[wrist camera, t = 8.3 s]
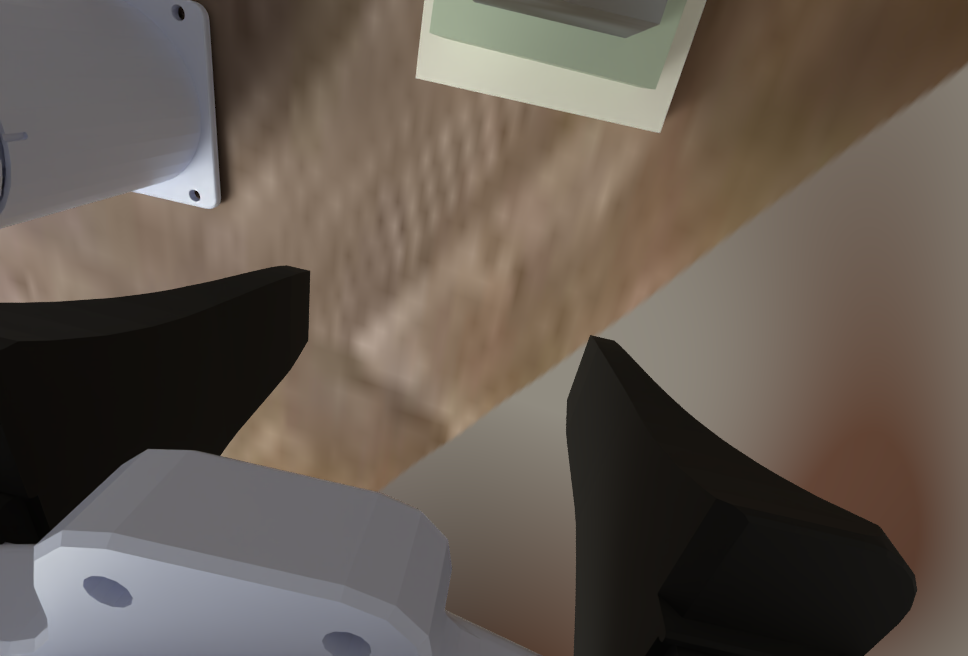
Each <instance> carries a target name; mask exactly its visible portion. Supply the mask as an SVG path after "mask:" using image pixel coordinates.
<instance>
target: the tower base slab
mask: <svg viewBox="0 0 968 656" xmlns="http://www.w3.org/2000/svg"><path fill="white" fill-rule="evenodd" d="M433 2H434V0H424V9H423V18H422V26H421V35H420V44H419V53H418V62H417V70H416V78H418V79H422V80H427V81H431V82H436V83H440V84H444V85H449V86H453V87H458V88H462V89H467V90H471V91H475V92H480V93H484V94H489V95H493V96H498V97H502V98H506V99H511V100H515V101H520V102H524V103H529V104H533V105H538V106H542V107H546V108H551V109H555V110H560V111H564V112H569V113H573V114H577V115H582V116H586V117H591V118H595V119H600V120H604V121H608V122H613V123H617V124H622V125H626V126H631V127H635V128H639V129H644V130H648V131H653V132H657V133H660V132H661V129H662V126H663V123H664V120H665V117H666V115H667V112H668V109H669V106H670V103H671V100H672V97H673V95H674V92H675V89H676V86H677V83H678V80H679V77H680V75H681V72H682V69H683V66H684V63H685V60H686V57H687V55H688V52H689V49H690V46H691V43H692V40H693V38H694V35H695V32H696V29H697V26H698V23H699V20H700V18H701V15H702V12H703V9H704V6H705V3H706V0H687V2H686V5H685V7H684V10H683V13H682V16H681V19H680V22H679V24H678V27H677V30H676V33H675V36H674V39H673V41H672V44H671V47H670V50H669V53H668V56H667V58H666V61H665V64H664V67H663V70H662V73H661V75H660V78H659V81H658V84H657V87H656V90H655V89H647V88H640V87H636V86H632V85H628V84H624V83H620V82H616V81H612V80H608V79H604V78H600V77H596V76H592V75H588V74H584V73H580V72H576V71H572V70H568V69H564V68H560V67H556V66H552V65H548V64H544V63H540V62H536V61H532V60H528V59H524V58H520V57H516V56H512V55H508V54H504V53H501V52H497V51H493V50H489V49H485V48H481V47H477V46H473V45H469V44H465V43H461V42H457V41H453V40H449V39H445V38H442V37H439V36H437V35H434V34H431V33H429V31H430V24H431V17H432V9H433Z"/></svg>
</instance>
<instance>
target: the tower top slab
mask: <svg viewBox="0 0 968 656" xmlns="http://www.w3.org/2000/svg"><path fill="white" fill-rule="evenodd" d="M686 2H687V0H668V1H667V4H666V7H665V10H664V13H663V16H662V19H661V22H660V24H659V25H657V26H654V27H652V28H649V29H647V30H645V31H642V32H640V33H637V34H635V35H632V36H630V37H628V38H622V37H618V36H613V35H609V34H605V33H601V32H597V31H593V30H588V29H584V28H580V27H576V26H572V25H567V24H563V23H559V22H555V21H551V20H547V19H542V18H538V17H534V16H530V15H526V14H521V13H517V12H513V11H509V10H505V9H501V8H496V7H492V6H488V5H484V4H480V3H475V2H474V1H473V0H434V2H433V9H432V17H431V24H430V31H429V33H431V34H434V35H437V36H439V37H442V38H445V39H449V40H453V41H457V42H461V43H465V44H469V45H473V46H477V47H481V48H485V49H489V50H493V51H497V52H501V53H504V54H508V55H512V56H516V57H520V58H524V59H528V60H532V61H536V62H540V63H544V64H548V65H552V66H556V67H560V68H564V69H568V70H572V71H576V72H580V73H584V74H588V75H592V76H596V77H600V78H604V79H608V80H612V81H616V82H620V83H624V84H628V85H632V86H636V87H640V88H647V89H655V90H656V87H657V84H658V81H659V78H660V75H661V73H662V70H663V67H664V64H665V61H666V58H667V56H668V53H669V50H670V47H671V44H672V41H673V39H674V36H675V33H676V30H677V27H678V24H679V22H680V19H681V16H682V13H683V10H684V7H685V5H686Z"/></svg>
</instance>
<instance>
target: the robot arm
mask: <svg viewBox="0 0 968 656" xmlns="http://www.w3.org/2000/svg"><path fill="white" fill-rule="evenodd" d="M180 6H181V7H182V9H183V10H184V13H185V18H184V19H183V20H182V19H181V18H180V17H179V14H178V9H179V8H180ZM195 190H196V191H197V192H198V193H199V194H200V199H199V198H197V197H196V196H195V193H194V192H195ZM131 191H132V192H136V193H141V194H145V195H149V196H154V197H158V198H162V199H167V200H171V201H175V202H180V203H184V204H189V205H193V206H197V207H202V208H206V209H212V208H215V207H217V206H219V204H220V202H221V191H220V176H219V160H218V145H217V129H216V114H215V98H214V83H213V67H212V52H211V36H210V21H209V16H208V13H207V11H206V9H205V8H204V7H203V6H202V5H201V4H200V3H198V2H196V1H191V0H0V229H1V228H5V227H8V226H12V225H15V224H19V223H22V222H26V221H29V220H33V219H36V218H40V217H43V216H47V215H50V214H54V213H57V212H61V211H64V210H68V209H71V208H75V207H79V206H82V205H86V204H89V203H93V202H96V201H100V200H103V199H107V198H110V197H114V196H117V195H121V194H124V193H128V192H131ZM309 293H310V271H308V270H304V269H300V268H295V267H291V266H277V267H271V268H266V269H261V270H257V271H252V272H248V273H244V274H240V275H236V276H232V277H227V278H223V279H219V280H215V281H210V282H206V283H201V284H196V285H191V286H186V287H182V288H177V289H172V290H166V291H160V292H154V293H148V294H140V295H132V296H124V297H116V298H105V299H90V300H76V301H61V302H32V303H0V656H542V655H539V654H537V653H535V652H533V651H531V650H529V649H527V648H524V647H522V646H520V645H518V644H516V643H514V642H512V641H510V640H508V639H505V638H503V637H501V636H499V635H497V634H495V633H493V632H491V631H489V630H486V629H484V628H482V627H480V626H478V625H476V624H474V623H472V622H469V621H467V620H465V619H463V618H461V617H459V616H457V615H454V614H452V613H450V612H448V611H446V610H445V604H446V599H447V594H448V588H449V582H450V577H451V571H452V565H451V558H450V551H449V543H448V539H447V538H446V537H445V536H444V535H443V534H442V533H441V532H440V530H439V529H437V527H436V526H435V525H434V524H433V523H432V522H431V521H430V520H429V519H428V518H427V517H426V516H425V515H424V513H422V511H421V510H419V509H418V508H416V507H413V506H411V505H409V504H406V503H404V502H402V501H399V500H397V499H395V498H392V497H390V496H388V495H385V494H383V493H380V492H376V491H371V490H367V489H362V488H358V487H354V486H349V485H345V484H340V483H336V482H332V481H327V480H323V479H319V478H314V477H310V476H305V475H301V474H297V473H292V472H288V471H283V470H279V469H275V468H270V467H266V466H262V465H257V464H253V463H248V462H244V461H240V460H235V459H231V458H226V457H222V456H220V455H221V454H222V452H223V451H224V449H225V448H226V447H227V445H228V444H229V443H230V441H231V440H232V439H233V437H234V436H235V435H236V433H237V432H238V431H239V430H240V429H241V427H242V426H243V425H244V424H245V423H246V422H247V420H248V419H249V418H250V417H251V416H252V415H253V413H254V412H255V411H256V410H257V409H258V408H259V406H260V405H261V404H262V403H263V402H264V401H265V399H266V398H267V397H268V396H269V395H270V394H271V392H272V391H273V390H274V389H275V388H276V386H277V385H278V384H279V383H280V382H281V380H282V379H283V378H284V377H285V376H286V374H287V373H288V372H289V371H290V370H291V368H292V366H293V365H294V363H295V362H296V360H297V359H298V357H299V355H300V354H301V352H302V350H303V348H304V347H305V345H306V343H307V342H308V329H309ZM566 419H567V420H566V436H567V446H568V455H569V463H570V472H571V480H572V488H573V497H574V505H575V518H576V606H575V635H574V656H864V655H865V654H866V653H867V652H868V651H870V650H871V649H872V648H873V647H874V646H875V645H876V644H877V643H878V642H879V641H880V640H881V639H883V638H884V637H885V636H886V635H887V634H888V633H889V632H890V631H891V630H892V629H893V628H894V627H895V626H897V625H898V624H899V623H900V622H901V620H902V619H903V618H904V616H905V615H906V614H907V613H908V612H909V610H910V609H911V607H912V604H913V601H914V598H915V595H916V592H917V586H916V580H915V575H914V573H913V572H912V570H911V569H910V568H909V566H908V565H907V563H906V562H905V561H904V559H903V558H902V556H901V555H900V554H899V552H898V551H897V550H896V548H895V547H894V545H893V544H892V543H891V541H890V540H889V539H888V537H887V536H886V534H885V533H884V532H883V530H882V529H881V528H880V527H879V526H878V525H876V524H874V523H872V522H870V521H868V520H866V519H864V518H862V517H859V516H857V515H855V514H853V513H851V512H849V511H847V510H845V509H843V508H840V507H838V506H836V505H834V504H832V503H830V502H828V501H826V500H823V499H821V498H819V497H817V496H815V495H813V494H812V493H810V492H808V491H806V490H804V489H802V488H800V487H799V486H797V485H795V484H793V483H791V482H790V481H788V480H786V479H784V478H782V477H780V476H779V475H777V474H775V473H774V472H772V471H770V470H768V469H767V468H765V467H763V466H762V465H760V464H759V463H757V462H755V461H754V460H752V459H751V458H749V457H748V456H746V455H745V454H743V453H742V452H740V451H738V450H737V449H735V448H734V447H732V446H731V445H729V444H728V443H727V442H725V441H724V440H722V439H721V438H719V437H718V436H717V435H715V434H714V433H713V432H712V431H710V430H709V429H708V428H706V427H705V426H704V425H703V424H701V423H700V422H699V421H697V420H696V419H695V418H694V417H693V416H691V415H690V414H689V413H688V412H687V411H685V410H684V409H683V408H682V407H681V406H680V405H679V404H677V403H676V402H675V401H674V400H673V399H672V398H671V397H670V396H669V395H668V394H667V393H666V392H665V391H664V390H663V389H662V388H661V387H660V386H659V385H658V384H657V383H656V382H654V381H653V379H652V378H651V377H650V376H649V375H648V374H647V373H646V372H645V371H644V370H643V369H642V368H641V367H640V366H639V365H638V364H637V363H636V362H635V361H634V360H633V358H632V357H631V356H630V355H629V354H628V353H627V352H626V351H625V350H624V349H623V348H622V347H621V346H620V345H619V344H618V343H616V342H615V341H613V340H609V339H604V338H600V337H596V336H592V335H590V337H589V340H588V343H587V346H586V348H585V351H584V354H583V357H582V360H581V362H580V365H579V368H578V371H577V374H576V376H575V379H574V382H573V385H572V388H571V390H570V393H569V396H568V399H567V417H566Z"/></svg>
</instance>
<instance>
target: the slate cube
mask: <svg viewBox="0 0 968 656" xmlns="http://www.w3.org/2000/svg"><path fill="white" fill-rule="evenodd" d="M473 1H474V2H475V3H480V4H484V5H488V6H492V7H496V8H501V9H505V10H509V11H513V12H517V13H521V14H526V15H530V16H534V17H538V18H542V19H547V20H551V21H555V22H559V23H563V24H567V25H572V26H576V27H580V28H584V29H588V30H593V31H597V32H601V33H605V34H609V35H613V36H618V37H622V38H628V37H630V36H632V35H635V34H637V33H640V32H642V31H645V30H647V29H649V28H652V27H654V26H657V25H659V24H660V22H661V19H662V16H663V13H664V10H665V7H666V4H667V1H668V0H473Z"/></svg>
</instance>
